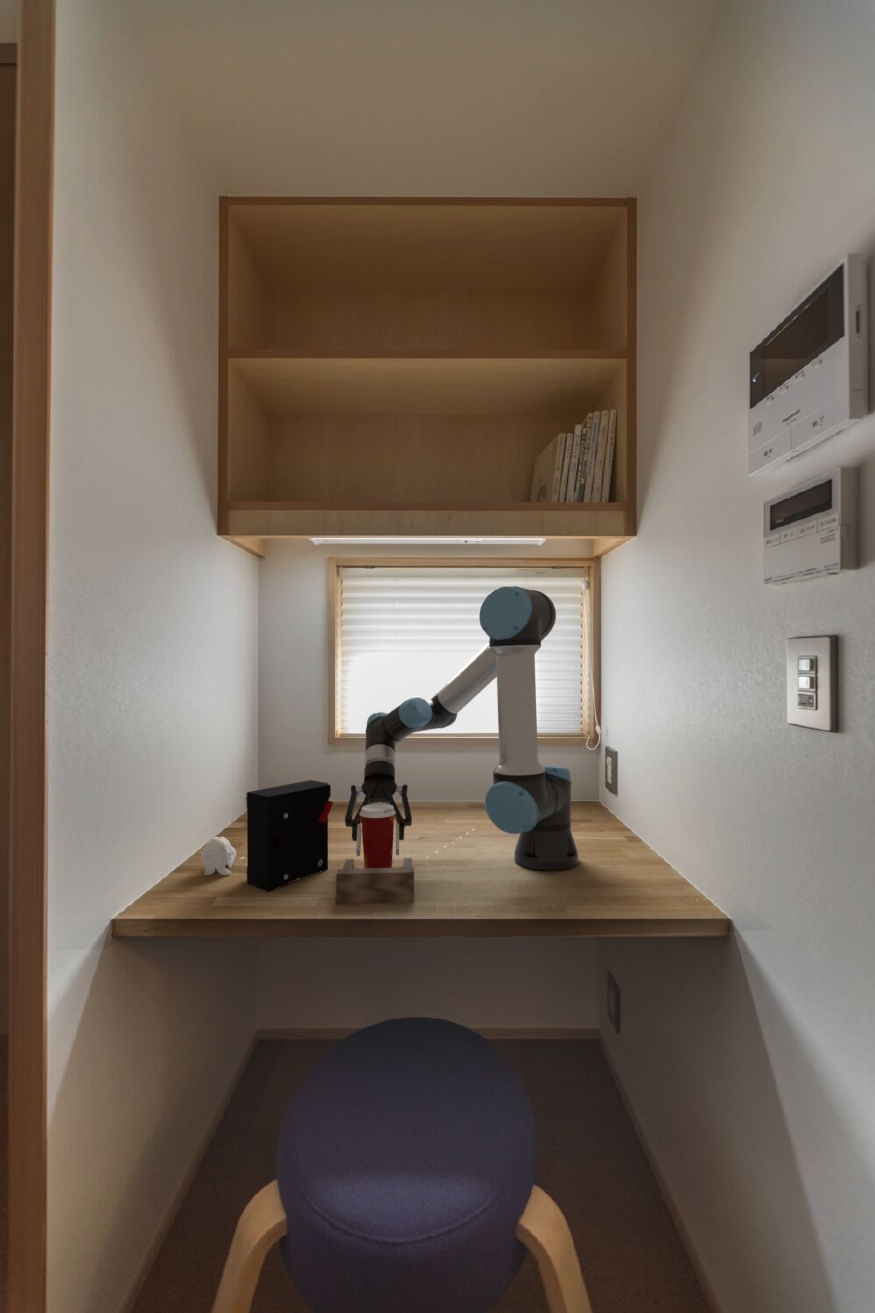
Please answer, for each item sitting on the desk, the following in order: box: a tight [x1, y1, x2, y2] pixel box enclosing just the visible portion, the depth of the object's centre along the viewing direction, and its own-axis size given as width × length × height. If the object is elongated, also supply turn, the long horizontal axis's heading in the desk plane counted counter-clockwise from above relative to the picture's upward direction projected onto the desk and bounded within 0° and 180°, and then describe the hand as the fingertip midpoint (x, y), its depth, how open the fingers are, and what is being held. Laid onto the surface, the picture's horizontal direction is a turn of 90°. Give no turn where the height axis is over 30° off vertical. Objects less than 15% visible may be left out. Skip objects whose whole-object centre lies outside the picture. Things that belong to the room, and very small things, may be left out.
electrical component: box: [245, 779, 334, 893], centre depth 147 cm, size 18×10×20 cm, turn 141°
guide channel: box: [335, 857, 415, 905], centre depth 143 cm, size 16×22×6 cm
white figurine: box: [200, 836, 238, 877], centre depth 151 cm, size 6×8×12 cm
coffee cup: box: [359, 803, 396, 868], centre depth 149 cm, size 8×8×15 cm
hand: (377, 852), depth 146 cm, fingers closed on coffee cup, 8 cm apart
